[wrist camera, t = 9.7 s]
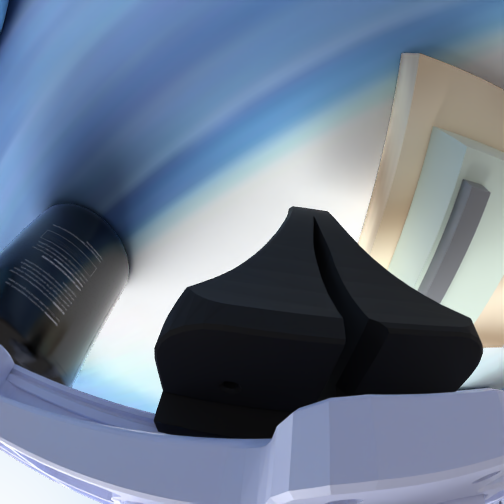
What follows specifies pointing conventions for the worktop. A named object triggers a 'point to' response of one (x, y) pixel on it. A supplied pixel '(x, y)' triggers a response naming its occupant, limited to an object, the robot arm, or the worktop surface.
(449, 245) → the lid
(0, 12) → the teapot
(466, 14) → the worktop surface
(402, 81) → the housing
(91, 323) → the supplement bottle
